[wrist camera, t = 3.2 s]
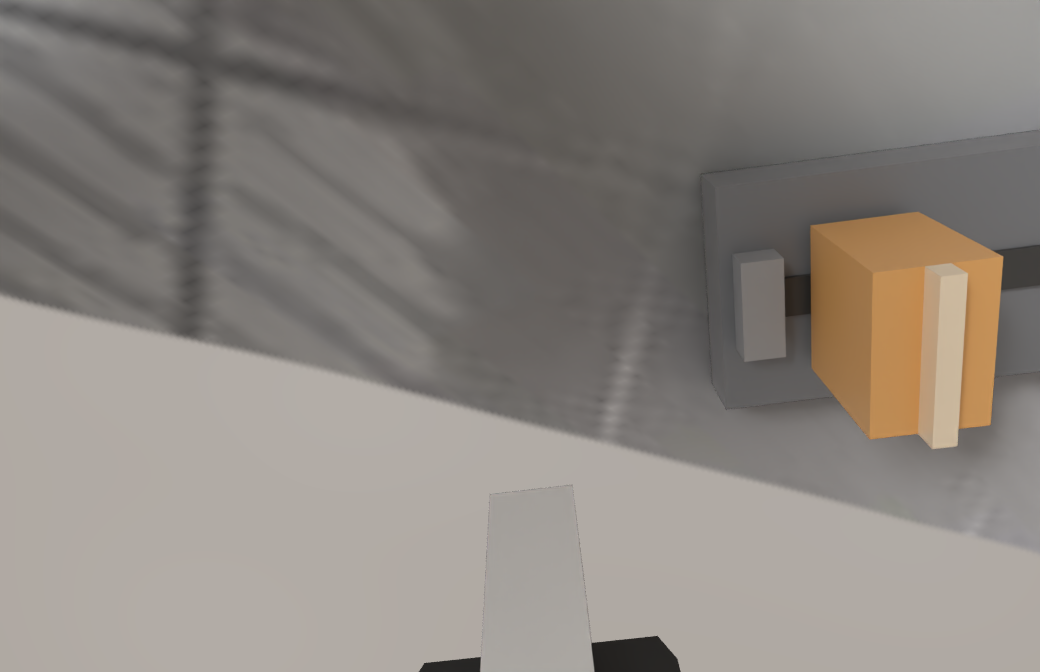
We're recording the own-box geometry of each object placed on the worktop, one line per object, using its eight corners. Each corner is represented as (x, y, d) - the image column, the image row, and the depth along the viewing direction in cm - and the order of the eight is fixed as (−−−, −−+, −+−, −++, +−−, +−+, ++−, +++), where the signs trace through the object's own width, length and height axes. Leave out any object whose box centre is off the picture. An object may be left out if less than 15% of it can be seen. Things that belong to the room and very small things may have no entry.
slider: (811, 368, 26) (882, 455, 21) (810, 225, 24) (886, 283, 19) (912, 355, 26) (1008, 440, 21) (917, 211, 24) (1022, 266, 19)
